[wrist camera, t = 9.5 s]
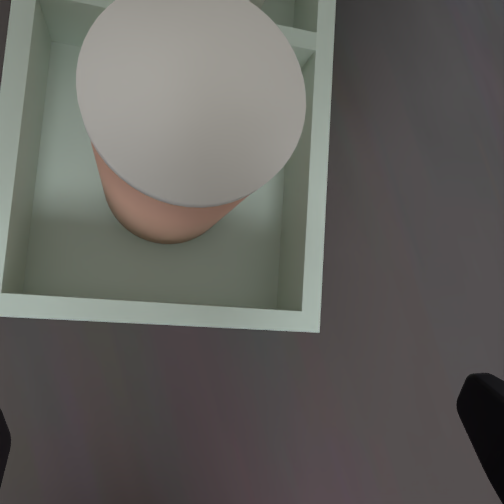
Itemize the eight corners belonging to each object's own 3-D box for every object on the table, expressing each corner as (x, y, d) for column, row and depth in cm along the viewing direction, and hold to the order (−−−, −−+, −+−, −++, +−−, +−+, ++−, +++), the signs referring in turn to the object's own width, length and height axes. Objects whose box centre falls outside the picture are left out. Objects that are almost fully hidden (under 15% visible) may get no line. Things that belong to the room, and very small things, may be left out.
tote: (287, 325, 23) (319, 332, 19) (3, 310, 20) (-28, 315, 16) (313, -133, 25) (346, -209, 22) (64, -208, 22) (50, -313, 18)
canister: (207, 262, 22) (270, 235, 12) (82, 220, 20) (38, 152, 11) (244, 148, 22) (330, 37, 13) (127, 102, 21) (123, -60, 12)
